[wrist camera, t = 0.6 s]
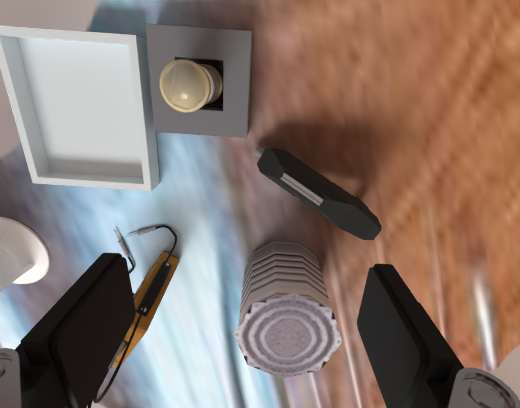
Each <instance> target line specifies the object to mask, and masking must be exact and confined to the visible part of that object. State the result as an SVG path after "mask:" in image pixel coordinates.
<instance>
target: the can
mask: <svg viewBox="0 0 520 408" xmlns="http://www.w3.org/2000/svg"><path fill="white" fill-rule="evenodd" d="M234 336H235V338H236V340H237V342H238V345H239V347H240V349H241V351H242V354H243V356H244V358H245V360H246V363H247V365H249V366H252V367H255V368H257V369H260V370H262V371H265V372H267V373H270V374H272V375H275V376H277V377H280V378H282V379H283V378H287V377H291V376H296V375H300V374H305V373H309V372H313V371H318V370H321V369H322V367H323V366H324V365H325V364H326V362H327V361H328V360H329V358H330V357H331V356H332V354H333V353H334V352H335V351H336V349H337V348H338V347H339V345H340V344H341V343H342V340H341V337H340V334H339V330H338V327H337V324H336V320H335V317H334V314H333V310H332V309H331V305H330V302H329V298H328V295H327V291H326V288H325V284H324V280H323V277H322V273H321V270H320V266H319V263H318V259H317V256H315V255H314V254H313V253H312V252H310V251H309V250H308V249H306V248H305V247H304V246H302V245H301V244H300V243H293V242H280V241H274V242H272V243H270V244H268V245H266V246H264V247H262V248H260V249H258V250H256V251H254V252H253V254H252V256H251V258H250V260H249V262H248V264H247V266H246V268H245V272H244V281H243V290H242V298H241V307H240V316H239V325H238V329H237V330H236V332H235V334H234Z"/></svg>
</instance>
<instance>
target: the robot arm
mask: <svg viewBox="0 0 520 408" xmlns="http://www.w3.org/2000/svg"><path fill="white" fill-rule="evenodd" d="M135 315H136V309H135V304H134V298H133V293H132V288H131V282H130V277H129V272H128V266H127V261H126V259H125V258H124V257H122V255H121V254H119V253H103V254H102V255H101V256H100V257H99V258H98V259H97V260H96V261H95V262H94V263H93V264H92V265H91V266H90V267H89V268H88V269H87V271H86V272H85V273H84V274H83V275H82V276H81V277H80V278H79V279H78V280H77V281H76V282H75V283H74V284H73V286H72V287H71V288H70V289H69V290H68V291H67V292H66V293H65V294H64V295H63V296H62V297H61V298H60V299H59V301H58V302H57V303H56V304H55V305H54V306H53V307H52V308H51V309H50V310H49V311H48V312H47V313H46V314H45V316H44V317H43V318H42V319H41V320H40V321H39V322H38V323H37V324H36V325H35V326H34V327H33V328H32V329H31V331H30V332H29V333H28V334H27V335H26V336H25V337H24V338H23V339H22V340H21V344H20V345H19V346H18V347H17V348H16V349H15V350H13V349H9V348H2V349H0V408H86V407H87V406H88V404H89V402H90V400H91V398H92V396H93V395H94V393H95V391H96V389H97V387H98V385H99V384H100V382H101V380H102V378H103V376H104V374H105V373H106V371H107V369H108V367H109V365H110V363H111V362H112V360H113V358H114V356H115V354H116V352H117V351H118V349H119V347H120V345H121V343H122V341H123V340H124V338H125V336H126V334H127V332H128V330H129V329H130V327H131V325H132V323H133V321H134V319H135ZM357 326H358V330H359V333H360V336H361V339H362V341H363V344H364V347H365V349H366V352H367V355H368V358H369V360H370V363H371V366H372V369H373V371H374V374H375V377H376V379H377V382H378V385H379V388H380V390H381V393H382V396H383V399H384V401H385V404H386V407H387V408H520V400H519V399H518V397H517V395H516V394H515V393H514V392H513V391H512V390H511V389H510V387H508V386H507V385H506V384H505V383H504V382H503V381H501V380H500V379H498V378H497V377H495V376H493V375H492V374H490V373H488V372H486V371H483V370H481V369H476V368H464V367H463V365H462V364H461V362H460V361H459V359H458V358H457V356H456V355H455V353H454V352H453V350H452V349H451V348H450V346H449V345H448V343H447V342H446V340H445V339H444V337H443V336H442V334H441V333H440V331H439V330H438V329H437V327H436V326H435V324H434V323H433V321H432V320H431V318H430V317H429V315H428V314H427V313H426V311H425V310H424V308H423V307H422V305H421V304H420V303H419V302H417V300H416V299H415V297H414V296H413V294H412V293H411V291H410V290H409V288H408V287H407V286H406V284H405V283H404V281H403V280H402V278H401V277H400V275H399V274H398V272H397V271H396V269H395V268H394V266H393V265H391V264H375V265H374V267H371V268H370V269H369V272H368V276H367V281H366V285H365V289H364V293H363V298H362V302H361V306H360V311H359V315H358V320H357Z"/></svg>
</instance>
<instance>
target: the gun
mask: <svg viewBox="0 0 520 408" xmlns="http://www.w3.org/2000/svg"><path fill="white" fill-rule="evenodd" d="M254 155H255V156H256V157H257V158H259V161H258V163H257V165H258V168H259V170H260V172H261V173H262V174H264V175H265V176H267V177H268V178H269V179H271V180H272V181H274V182H275V183H276V184H278V185H279V186H281V187H282V188H283V189H285V190H286V191H288V192H289V193H291V194H292V195H293V196H297V197H299V198H300V201H302V202H303V203H307V204H308V205H310V206H311V207H310V208H312V209H313V210H315V209H316V210H317V211H318V212H320V215H322V216H323V217H324V218H326V219H327V220H329V221H330V222H331V223H333V224H334V225H336V226H337V227H338V228H341V229H343V230H345V231H347V232H349V233H351V234H353V235H355V236H357V237H359V238H361V239H363V240H374V239H375V237H376V236H377V235H378V234H379V232H380V231H381V225H380V222H379V220H378V218H377V217H376V216H375V215H374V214H373V213H372V212H371V211H370V210H369V209H368V207H367V206H366V205H365V204H364V203H363V202H362V201H361V200H359V199H357V198H356V197H354V196H352V195H351V194H349V193H348V192H346V191H345V190H343V189H342V188H340V187H339V186H337V185H336V184H334V183H333V182H331V181H330V180H328V179H327V178H325V177H324V176H322V175H321V174H319V173H318V172H316V171H315V170H313V169H312V168H310V167H309V166H307V165H306V164H304V163H303V162H301V161H300V160H298V159H297V158H295V157H294V156H292V155H291V154H289V153H288V152H286V151H284V150H278V149H265V150H263V149H261V148H259V147H258V148H256V149H255V151H254Z"/></svg>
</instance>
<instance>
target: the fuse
mask: <svg viewBox="0 0 520 408" xmlns="http://www.w3.org/2000/svg"><path fill="white" fill-rule="evenodd" d="M160 90H161V93H162V96H163V98H164V99H165V101H166V102H167V103H168V104H169V105H170V106H171V107H172V108H174V109H176V110H178V111H181V112H192V111H195V110H197V109H200V108H201V107H203V106H204V105H205V104H209V103H212V102H214V101H216V100H217V99H218V98H219V97H220V96H221V94H222V91H223V79H222V76H221V74H220V73H219V71H218V70H217V69H216V68H214V67H213V66H211V65H208V64H197V63H195V62H192V61H188V60H175V61H172V62H170V63H169V64H168V65H167V66H166V67H165V68H164V69H163V71H162V73H161V76H160Z"/></svg>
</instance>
